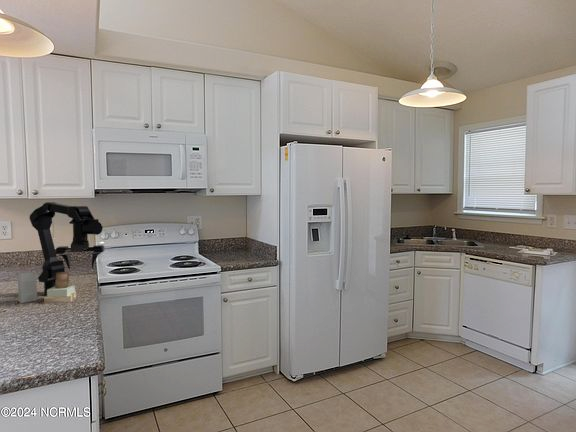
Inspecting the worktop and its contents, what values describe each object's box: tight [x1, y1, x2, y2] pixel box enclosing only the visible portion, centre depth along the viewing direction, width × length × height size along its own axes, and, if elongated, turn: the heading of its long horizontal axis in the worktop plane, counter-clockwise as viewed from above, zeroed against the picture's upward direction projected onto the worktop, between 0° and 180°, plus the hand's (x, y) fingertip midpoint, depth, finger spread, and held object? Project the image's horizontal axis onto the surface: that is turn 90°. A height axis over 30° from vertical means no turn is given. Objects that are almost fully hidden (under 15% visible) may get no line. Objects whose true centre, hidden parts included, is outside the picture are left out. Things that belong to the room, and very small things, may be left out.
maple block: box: [43, 290, 77, 304], centre depth 167 cm, size 10×10×3 cm
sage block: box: [46, 284, 76, 297], centre depth 167 cm, size 8×8×3 cm
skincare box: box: [17, 271, 38, 304], centre depth 165 cm, size 6×4×12 cm
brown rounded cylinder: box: [55, 271, 70, 288], centre depth 167 cm, size 5×5×6 cm
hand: (81, 268), depth 171 cm, fingers open, 9 cm apart
